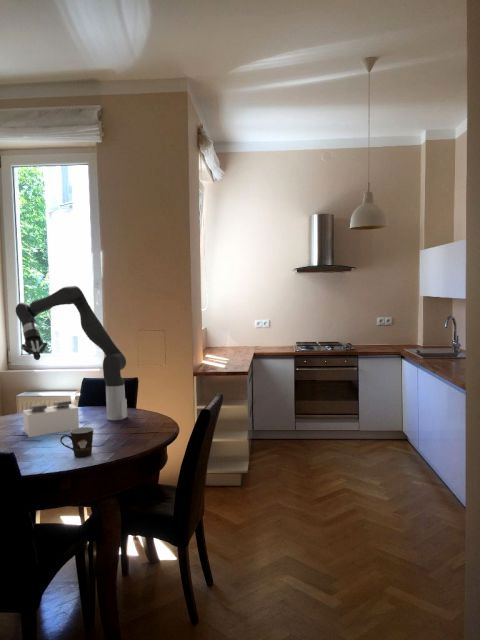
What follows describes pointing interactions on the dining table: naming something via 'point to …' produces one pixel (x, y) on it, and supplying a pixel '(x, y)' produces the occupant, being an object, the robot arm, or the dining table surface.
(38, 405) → the rocker outer
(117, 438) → the dining table surface
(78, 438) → the coffee mug
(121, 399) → the robot arm
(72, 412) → the switch box
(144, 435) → the dining table surface
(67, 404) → the block
